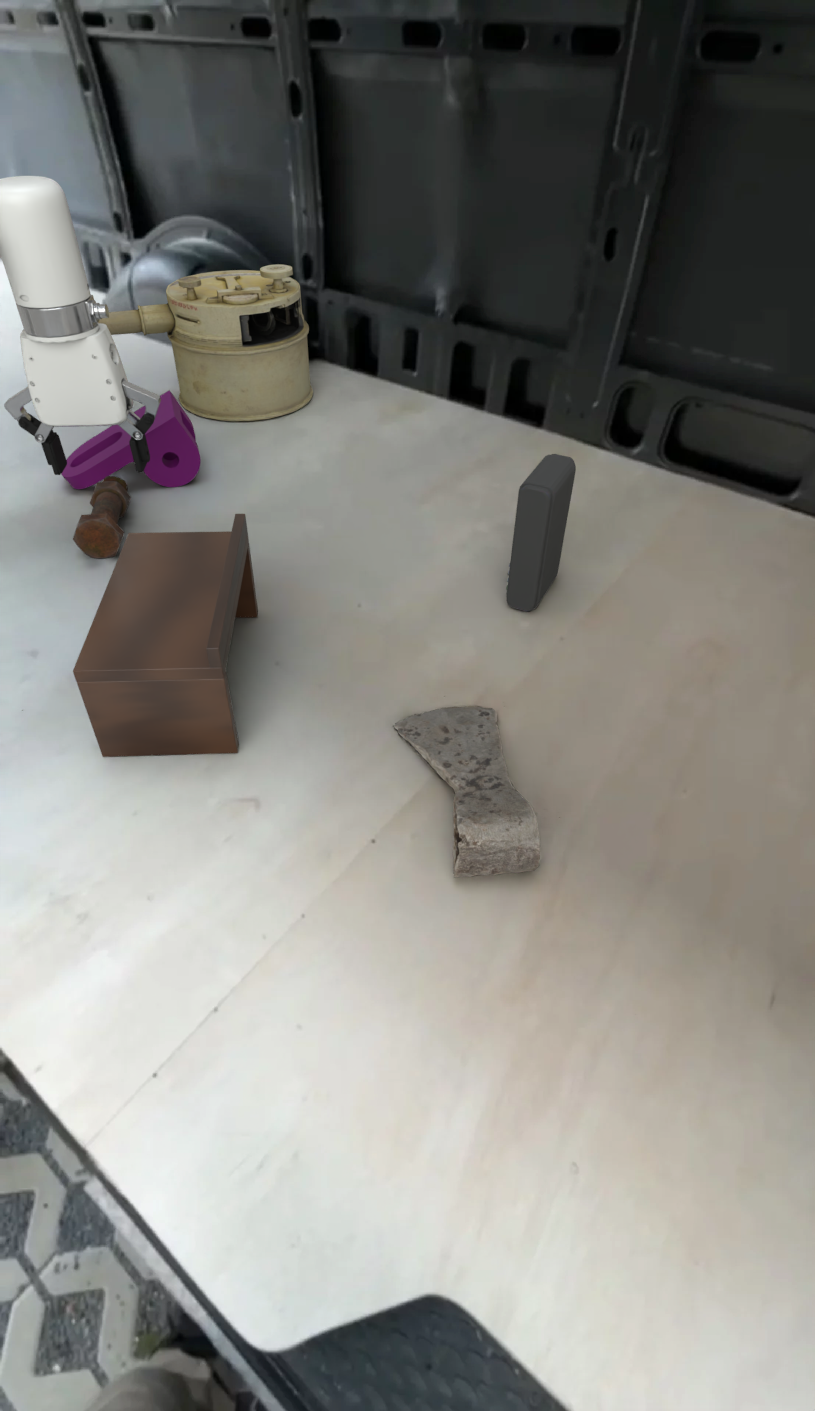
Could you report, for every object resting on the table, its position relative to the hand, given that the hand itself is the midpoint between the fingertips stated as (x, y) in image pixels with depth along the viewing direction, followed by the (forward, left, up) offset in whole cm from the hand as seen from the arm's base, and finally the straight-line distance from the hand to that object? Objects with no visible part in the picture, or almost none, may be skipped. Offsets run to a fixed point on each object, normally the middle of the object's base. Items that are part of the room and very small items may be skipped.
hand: (102, 468), depth 95 cm
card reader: (+50, -16, -8) cm, 53 cm away
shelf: (+13, -30, -8) cm, 34 cm away
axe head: (+39, -46, -8) cm, 61 cm away
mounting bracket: (-1, +14, -8) cm, 16 cm away
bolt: (-1, 0, -8) cm, 8 cm away
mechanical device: (+6, +42, -8) cm, 43 cm away
